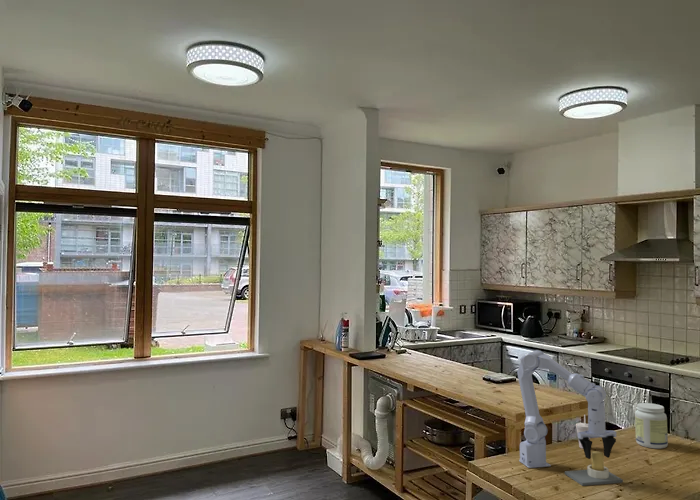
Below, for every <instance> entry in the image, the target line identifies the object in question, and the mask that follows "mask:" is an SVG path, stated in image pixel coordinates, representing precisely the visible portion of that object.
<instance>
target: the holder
mask: <svg viewBox="0 0 700 500" xmlns="http://www.w3.org/2000/svg"><path fill="white" fill-rule="evenodd" d="M586 467H587V469H579V470H566V471H564V475H566V476H567V477H568V478H570V479H571V480H573V481H574V482H576V483H577V484H579V485H580V486H582V487H586V486H595V485H608V484H609V485H610V484H622V482H623V483H624V479H622V478H621V477H619V476H617V475H616V474H614V473H612V472H610V470H609V468H608V467H607V466H605V465H604V471H596V470H593V469H592V464H588V465H587V466H586Z"/></svg>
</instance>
